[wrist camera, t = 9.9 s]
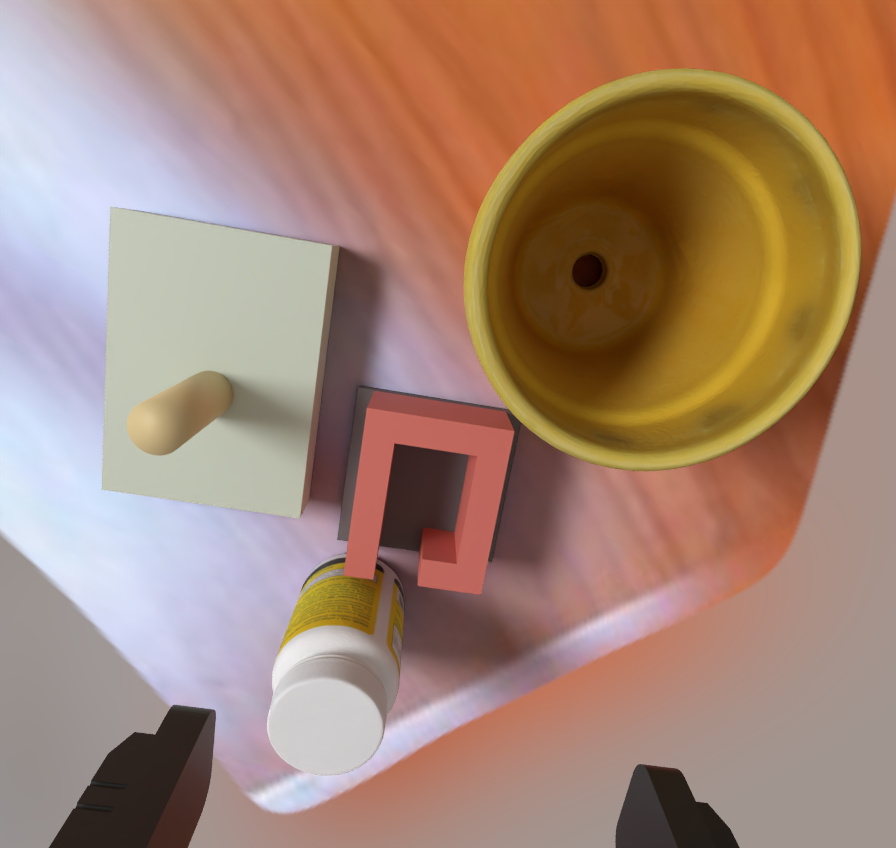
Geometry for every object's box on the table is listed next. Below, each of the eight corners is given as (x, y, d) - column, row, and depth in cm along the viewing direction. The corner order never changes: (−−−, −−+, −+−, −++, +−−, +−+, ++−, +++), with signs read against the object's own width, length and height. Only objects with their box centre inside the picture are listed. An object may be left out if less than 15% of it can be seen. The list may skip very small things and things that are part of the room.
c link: (374, 390, 26) (366, 407, 24) (505, 411, 27) (514, 431, 24) (352, 542, 28) (343, 575, 25) (476, 559, 29) (481, 594, 26)
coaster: (359, 385, 27) (357, 387, 26) (521, 411, 27) (522, 414, 27) (338, 535, 29) (337, 539, 28) (490, 557, 29) (491, 561, 29)
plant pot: (474, 115, 24) (500, 30, 15) (736, 156, 25) (923, 98, 15) (439, 380, 27) (442, 452, 17) (676, 411, 27) (803, 496, 18)
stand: (135, 209, 25) (23, 195, 18) (339, 245, 25) (305, 244, 19) (125, 472, 28) (25, 545, 21) (309, 500, 28) (269, 579, 21)
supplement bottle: (281, 592, 29) (223, 723, 21) (356, 530, 29) (325, 641, 20) (353, 659, 30) (323, 808, 22) (427, 600, 30) (424, 733, 22)
